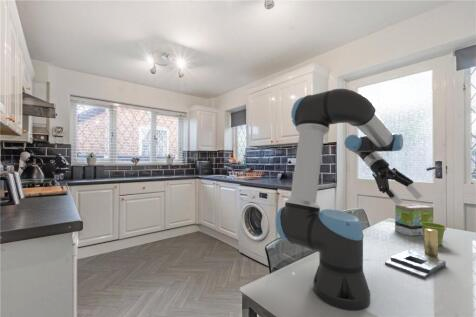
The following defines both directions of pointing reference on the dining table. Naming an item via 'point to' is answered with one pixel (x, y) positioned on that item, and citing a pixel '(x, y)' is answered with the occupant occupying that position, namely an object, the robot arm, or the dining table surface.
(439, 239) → the plant pot
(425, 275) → the grey square-hole plate
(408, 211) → the tea box
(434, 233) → the brass pin
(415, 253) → the grey slotted plate
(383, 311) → the dining table surface
